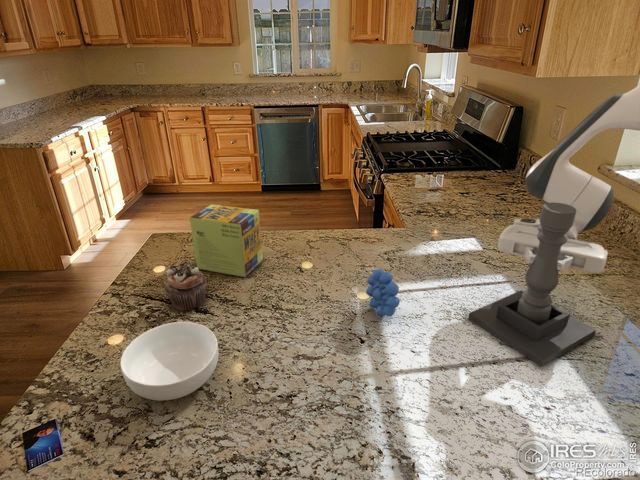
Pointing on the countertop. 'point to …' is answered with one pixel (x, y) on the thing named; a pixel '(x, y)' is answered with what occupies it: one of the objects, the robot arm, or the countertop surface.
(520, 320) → the display stand
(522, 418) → the countertop surface
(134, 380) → the cereal bowl
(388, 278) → the grapes
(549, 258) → the candle holder
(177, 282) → the cupcake
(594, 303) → the countertop surface
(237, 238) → the protein box
